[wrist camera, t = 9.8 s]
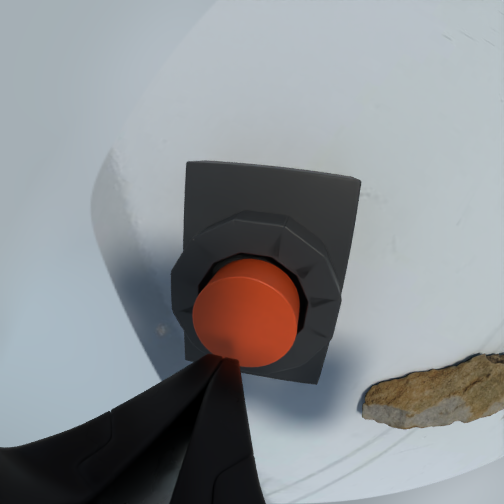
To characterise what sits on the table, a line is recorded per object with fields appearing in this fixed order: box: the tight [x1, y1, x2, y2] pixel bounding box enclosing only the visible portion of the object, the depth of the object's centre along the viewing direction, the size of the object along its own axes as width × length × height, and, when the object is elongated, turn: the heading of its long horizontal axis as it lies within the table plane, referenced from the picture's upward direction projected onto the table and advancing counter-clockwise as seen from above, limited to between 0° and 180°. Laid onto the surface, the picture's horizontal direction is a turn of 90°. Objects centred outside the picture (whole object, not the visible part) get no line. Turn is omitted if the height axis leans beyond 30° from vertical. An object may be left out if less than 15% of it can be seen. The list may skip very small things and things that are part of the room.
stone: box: [362, 354, 504, 429], centre depth 13 cm, size 13×5×3 cm, turn 101°
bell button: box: [192, 259, 300, 367], centre depth 11 cm, size 4×4×2 cm
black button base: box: [171, 161, 361, 384], centre depth 13 cm, size 10×7×4 cm
